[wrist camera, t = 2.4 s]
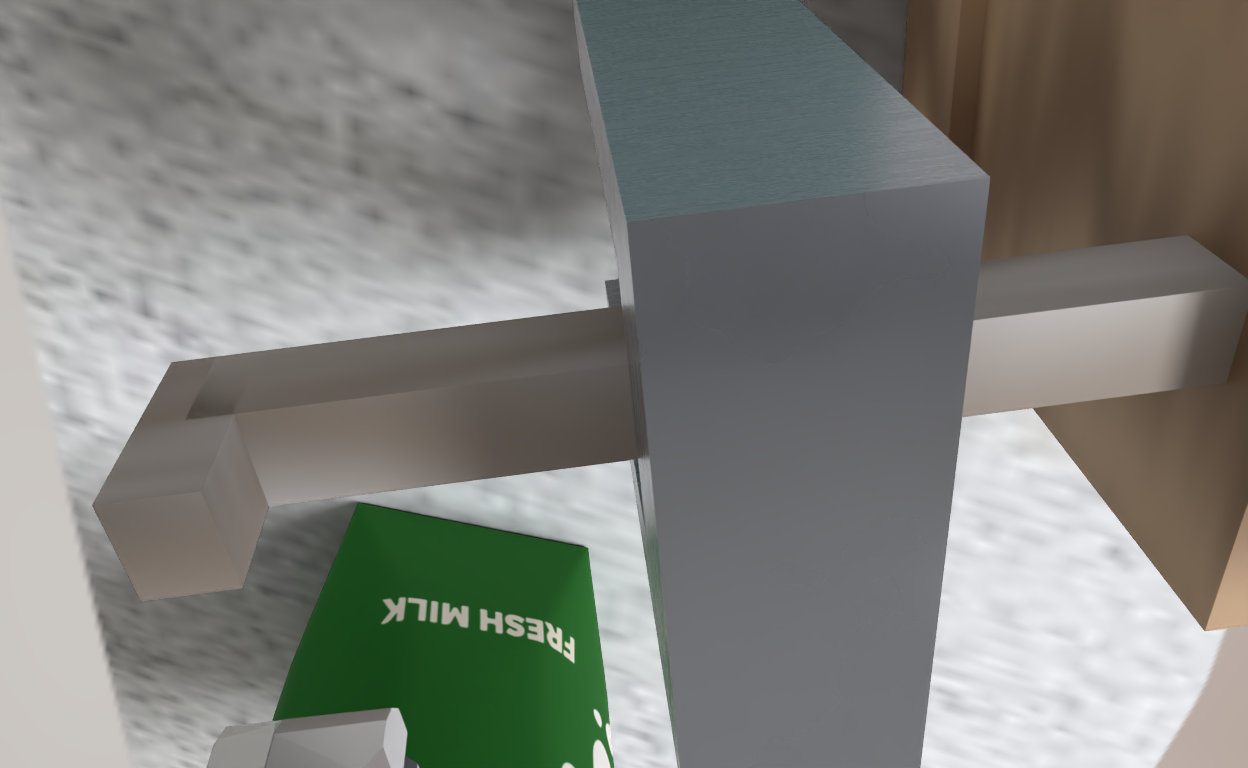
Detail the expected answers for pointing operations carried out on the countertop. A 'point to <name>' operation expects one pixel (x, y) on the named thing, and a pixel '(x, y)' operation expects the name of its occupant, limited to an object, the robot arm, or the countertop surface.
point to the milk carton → (459, 644)
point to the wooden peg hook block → (1000, 343)
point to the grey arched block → (784, 370)
